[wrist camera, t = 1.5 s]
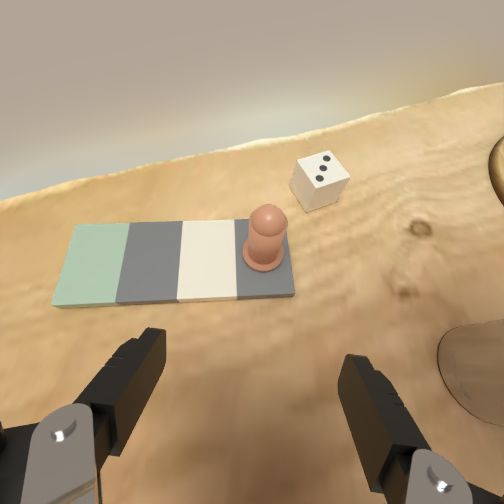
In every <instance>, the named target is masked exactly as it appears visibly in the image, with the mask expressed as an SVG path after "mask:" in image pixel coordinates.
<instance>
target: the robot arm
mask: <svg viewBox="0 0 504 504" xmlns="http://www.w3.org/2000/svg"><path fill="white" fill-rule="evenodd" d="M438 361H439V367H440V371H441V374H442V377H443V379H444V381H445V383H446V386H447V387H448V389H449V390H450V392H451V393H452V395H453V396H454V397H455V398H456V400H457V401H458V402H459V403H460V404H461V405H462V406H463V407H464V408H465V409H467V410H468V411H469V412H470V413H471V414H473V415H475V416H476V417H478V418H480V419H481V420H484V421H486V422H489V423H491V424H496V425H500V426H504V319H503V320H497V321H490V322H484V323H478V324H472V325H467V326H461V327H457V328H454V329H452V330H450V331H449V332H447V333H446V335H445V336H444V337H443V338H442V340H441V343H440V345H439V351H438ZM165 362H166V330H165V329H157V328H149V327H148V328H146V329H145V331H144V332H143V333H142V335H141V336H140V337H139V339H136V338H131V339H130V340H128V341H127V342H125V343H124V344H122V345H121V346H120V347H119V348H118V349H117V350H116V352H115V353H114V354H113V355H112V358H110V359H109V360H108V361H107V363H106V364H105V366H104V367H102V369H101V370H100V371H99V372H98V373H97V375H96V376H95V377H94V378H93V379H92V381H91V382H90V383H89V384H88V385H87V387H86V388H85V389H84V390H83V392H82V393H81V394H80V395H79V396H78V398H77V399H76V400H75V401H74V402H73V403H72V404H69V405H66V406H63V407H61V408H59V409H57V410H55V411H53V412H52V413H50V414H49V415H48V416H46V417H45V418H44V419H43V420H42V421H41V422H39V423H35V424H29V425H23V426H18V427H12V428H7V429H3V427H2V424H1V422H0V504H103V496H102V481H101V468H102V466H103V464H104V462H105V461H106V459H107V457H108V455H111V456H118V457H120V455H121V453H122V451H123V449H124V447H125V445H126V443H127V441H128V439H129V437H130V435H131V433H132V431H133V429H134V427H135V425H136V423H137V421H138V419H139V417H140V415H141V413H142V411H143V409H144V407H145V406H146V404H147V402H148V400H149V398H150V396H151V394H152V392H153V390H154V388H155V386H156V384H157V382H158V380H159V378H160V376H161V374H162V372H163V370H164V366H165ZM338 395H339V398H340V401H341V404H342V407H343V410H344V413H345V416H346V419H347V422H348V425H349V428H350V431H351V434H352V437H353V440H354V443H355V446H356V449H357V452H358V455H359V458H360V461H361V464H362V467H363V470H364V473H365V476H366V479H367V482H368V485H369V488H370V491H371V492H376V493H383V494H384V495H385V498H386V501H387V503H388V504H504V495H503V496H502V497H499V496H497V495H495V494H493V493H491V492H488V491H486V490H484V489H482V488H480V487H477V486H475V485H473V484H471V483H469V482H467V481H466V480H465V479H464V477H463V476H462V475H461V473H460V472H459V471H458V470H457V469H456V468H455V467H454V466H453V465H452V464H451V463H450V462H449V461H448V460H446V459H445V458H444V457H442V456H441V455H439V454H437V453H435V452H433V451H432V450H431V448H430V446H429V445H428V443H427V442H426V440H425V438H424V437H423V435H422V433H421V432H420V430H419V428H418V427H417V425H416V423H415V422H414V420H413V418H412V417H411V415H410V413H409V412H408V410H407V408H406V407H404V403H403V402H402V400H401V398H400V397H399V396H398V393H397V392H396V390H395V389H394V387H393V385H392V384H391V382H390V381H389V380H388V379H387V378H386V377H385V376H384V375H383V374H382V373H381V372H380V371H377V370H374V368H373V366H372V365H371V363H370V361H369V359H368V358H367V357H366V356H361V355H353V354H347V355H346V357H345V360H344V363H343V366H342V369H341V373H340V376H339V379H338Z"/></svg>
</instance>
